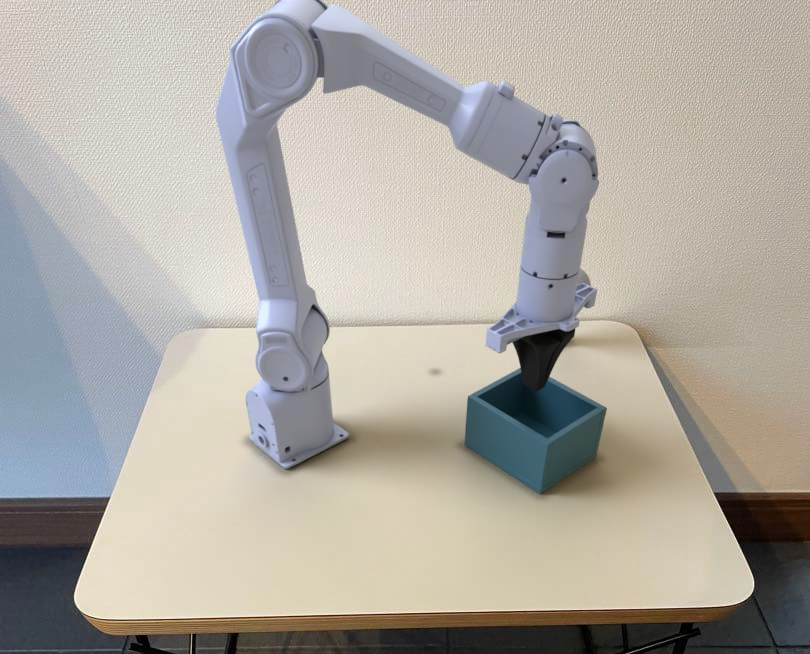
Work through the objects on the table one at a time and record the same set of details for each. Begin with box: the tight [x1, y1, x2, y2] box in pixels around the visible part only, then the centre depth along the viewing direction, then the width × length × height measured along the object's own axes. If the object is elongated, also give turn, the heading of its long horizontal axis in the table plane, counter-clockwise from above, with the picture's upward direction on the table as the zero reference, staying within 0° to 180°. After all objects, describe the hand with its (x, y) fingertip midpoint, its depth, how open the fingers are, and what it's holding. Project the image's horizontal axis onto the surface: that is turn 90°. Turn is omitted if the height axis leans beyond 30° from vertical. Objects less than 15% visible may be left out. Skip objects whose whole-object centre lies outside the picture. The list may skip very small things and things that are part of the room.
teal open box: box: [464, 367, 608, 495], centre depth 88 cm, size 7×12×10 cm
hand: (533, 385), depth 84 cm, fingers closed
